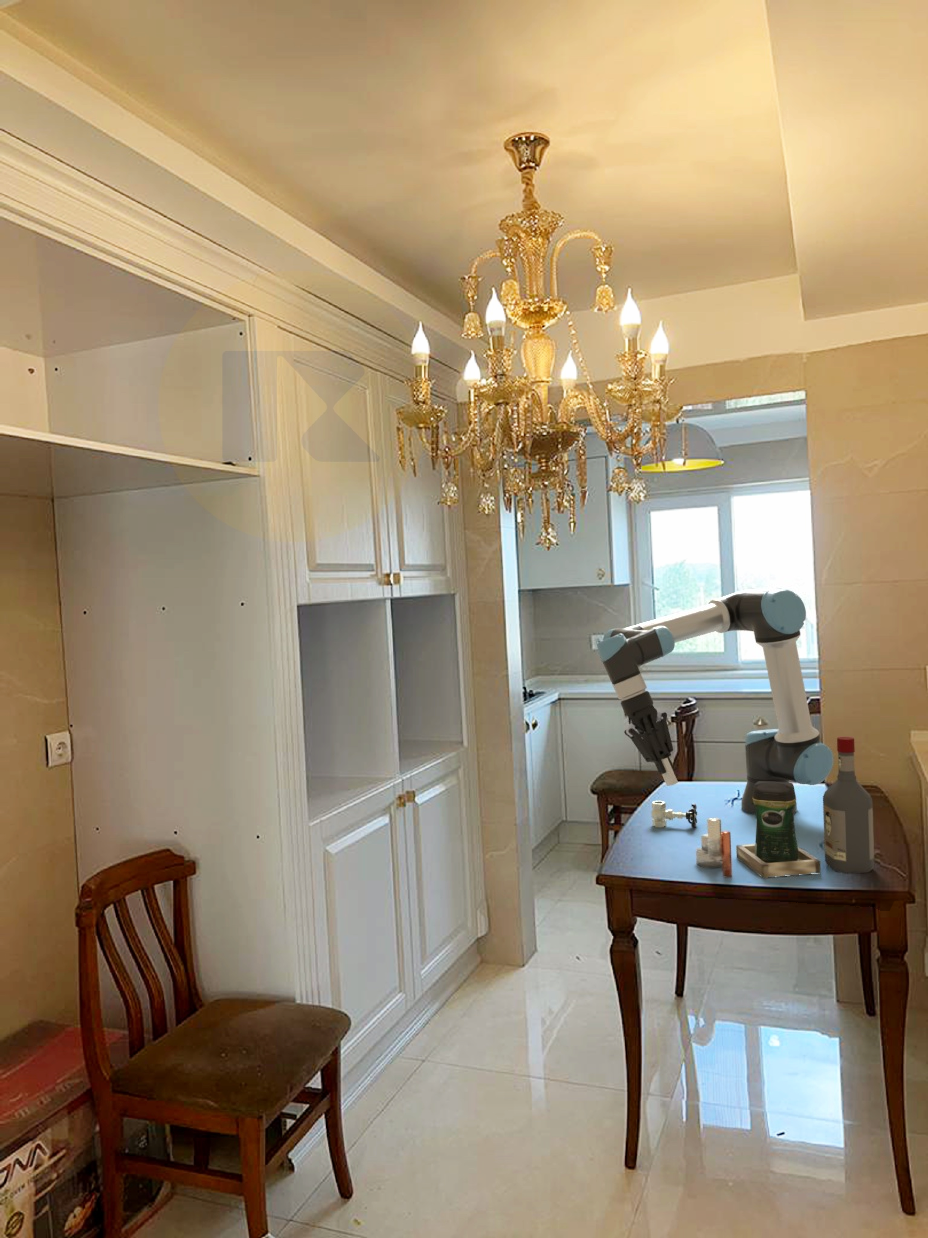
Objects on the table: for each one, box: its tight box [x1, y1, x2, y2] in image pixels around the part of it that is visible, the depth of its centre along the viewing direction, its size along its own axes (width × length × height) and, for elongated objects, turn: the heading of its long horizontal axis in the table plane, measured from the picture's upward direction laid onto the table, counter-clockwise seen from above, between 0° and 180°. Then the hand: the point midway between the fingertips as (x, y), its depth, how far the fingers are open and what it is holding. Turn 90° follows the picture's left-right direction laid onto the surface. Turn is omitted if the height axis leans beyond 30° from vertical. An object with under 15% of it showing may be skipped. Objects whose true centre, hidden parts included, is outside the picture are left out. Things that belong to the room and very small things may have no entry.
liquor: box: [822, 736, 875, 875], centre depth 207 cm, size 9×9×30 cm
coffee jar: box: [753, 781, 799, 863], centre depth 211 cm, size 10×8×19 cm
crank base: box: [695, 830, 733, 878], centre depth 212 cm, size 7×14×10 cm, turn 5°
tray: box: [735, 843, 822, 879], centre depth 212 cm, size 13×15×3 cm
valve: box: [650, 800, 698, 829], centre depth 248 cm, size 7×7×12 cm
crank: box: [700, 817, 722, 858], centre depth 211 cm, size 13×4×10 cm, turn 171°
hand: (672, 784), depth 221 cm, fingers closed
